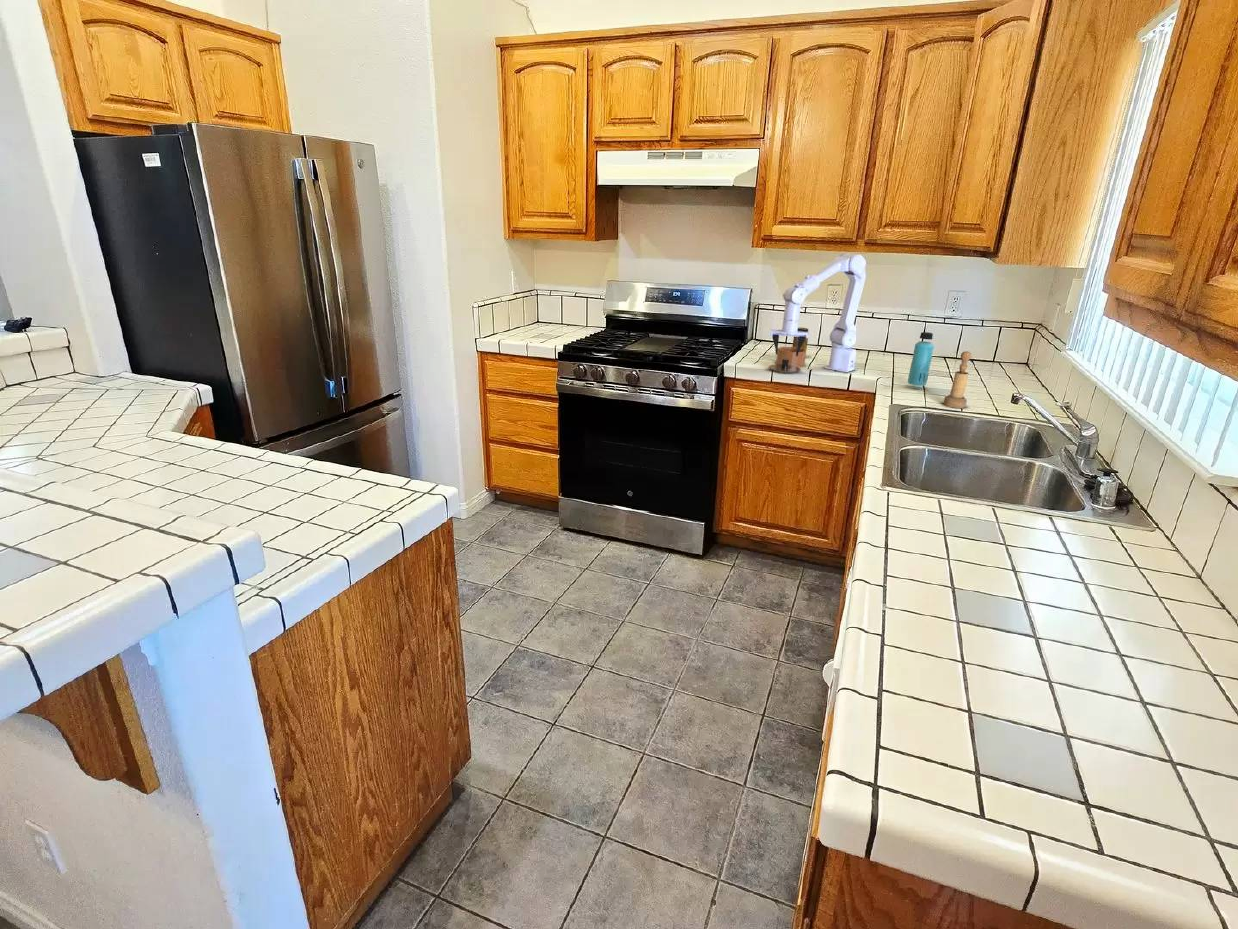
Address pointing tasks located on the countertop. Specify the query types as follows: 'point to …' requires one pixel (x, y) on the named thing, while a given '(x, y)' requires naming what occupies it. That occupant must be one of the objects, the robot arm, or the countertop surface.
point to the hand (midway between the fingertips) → (786, 354)
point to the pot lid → (784, 367)
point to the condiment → (804, 345)
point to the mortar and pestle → (959, 385)
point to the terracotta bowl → (791, 356)
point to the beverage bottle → (921, 360)
